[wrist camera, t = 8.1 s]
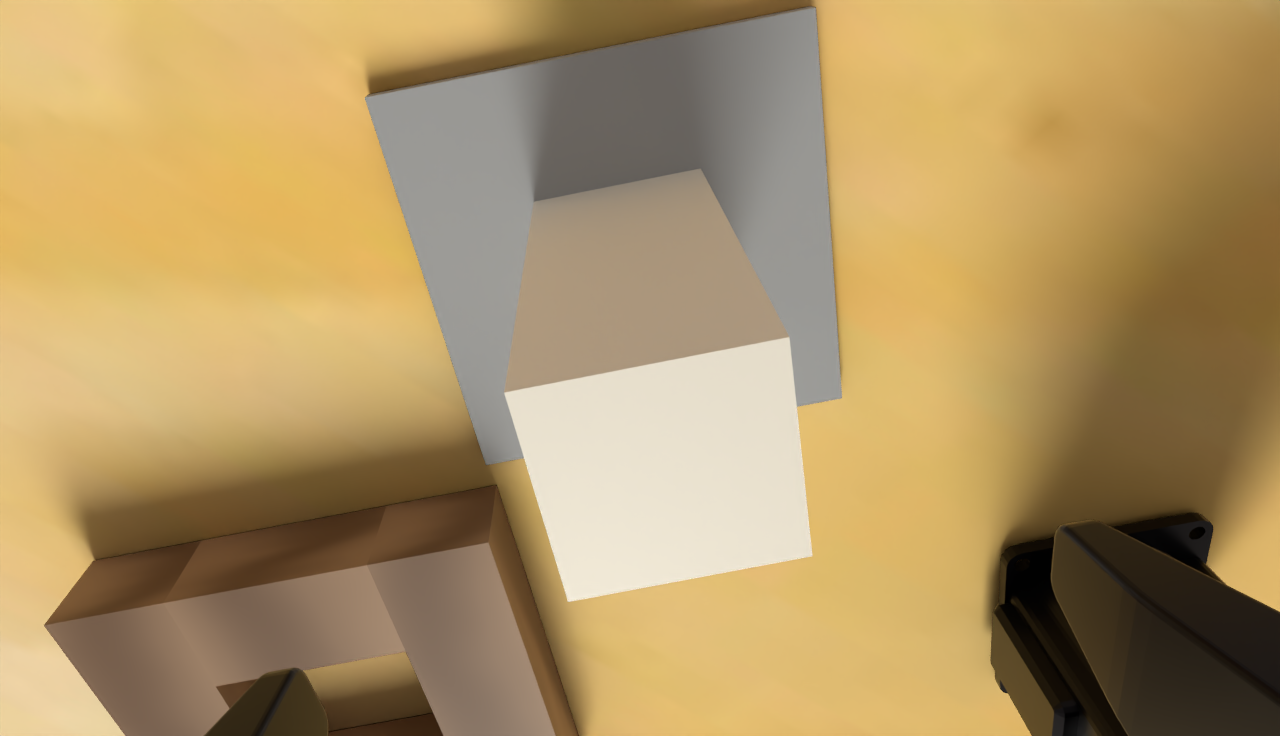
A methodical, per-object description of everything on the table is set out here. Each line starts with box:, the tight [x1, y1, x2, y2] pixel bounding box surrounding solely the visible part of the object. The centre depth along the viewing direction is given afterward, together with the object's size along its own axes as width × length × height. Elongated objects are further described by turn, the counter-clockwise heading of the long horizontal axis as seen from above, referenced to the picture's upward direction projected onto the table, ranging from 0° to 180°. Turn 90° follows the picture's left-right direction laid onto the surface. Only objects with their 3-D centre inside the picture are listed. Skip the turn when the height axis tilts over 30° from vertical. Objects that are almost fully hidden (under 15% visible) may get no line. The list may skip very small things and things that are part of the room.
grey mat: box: [365, 6, 842, 465], centre depth 20 cm, size 10×10×1 cm
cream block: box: [504, 168, 812, 602], centre depth 16 cm, size 4×4×9 cm
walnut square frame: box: [44, 485, 578, 736], centre depth 25 cm, size 12×12×2 cm
